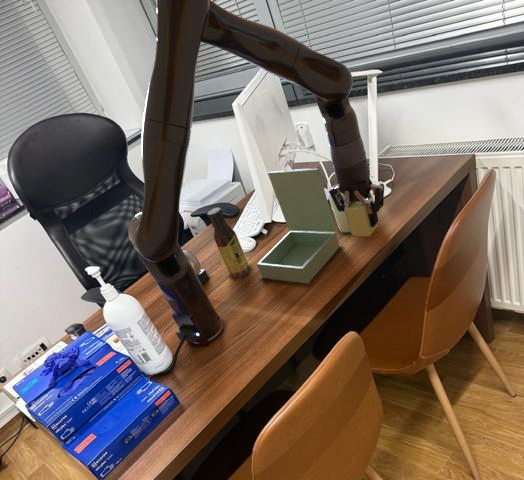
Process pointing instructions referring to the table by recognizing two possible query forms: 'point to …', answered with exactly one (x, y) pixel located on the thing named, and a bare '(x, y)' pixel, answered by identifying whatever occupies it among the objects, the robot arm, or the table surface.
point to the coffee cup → (340, 215)
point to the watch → (197, 267)
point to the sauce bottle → (228, 244)
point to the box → (298, 256)
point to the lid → (302, 199)
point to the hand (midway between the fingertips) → (363, 224)
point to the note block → (359, 220)
